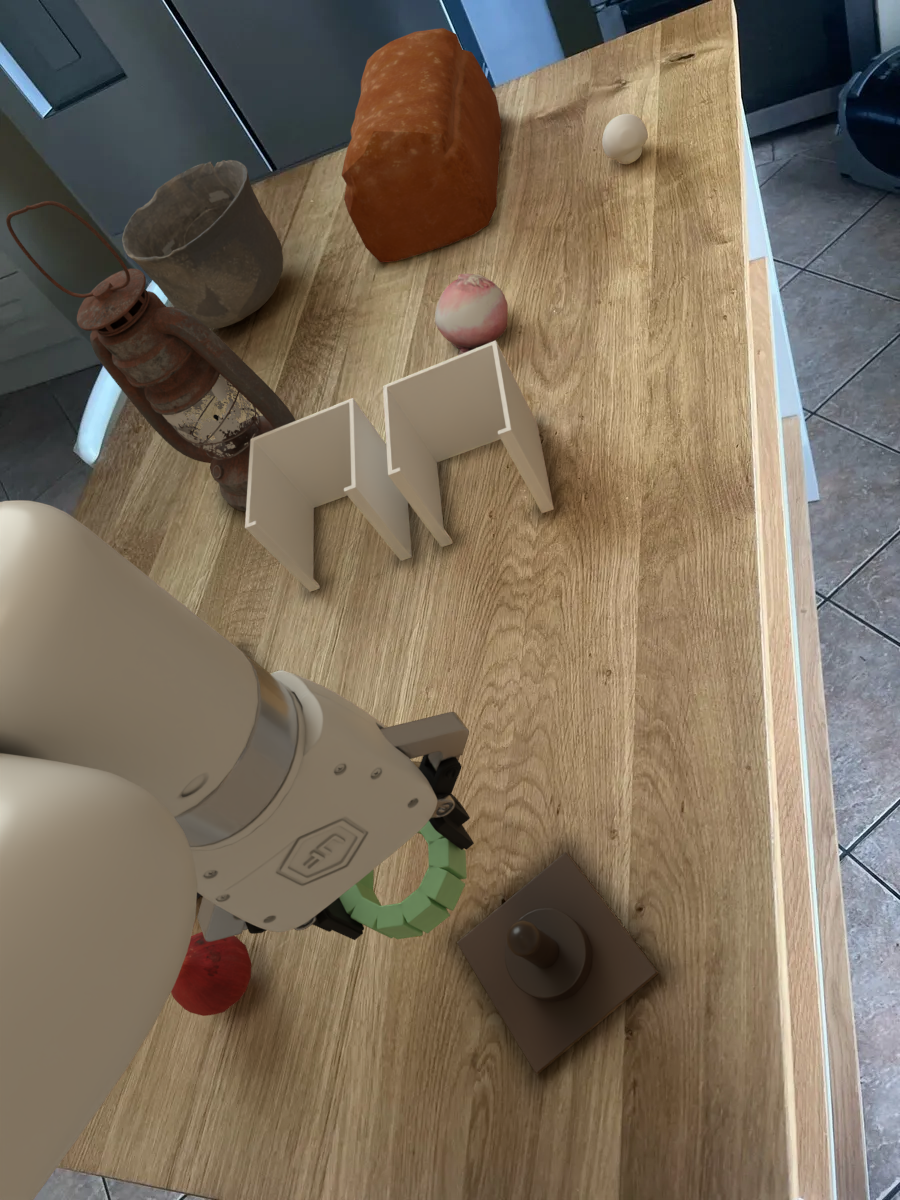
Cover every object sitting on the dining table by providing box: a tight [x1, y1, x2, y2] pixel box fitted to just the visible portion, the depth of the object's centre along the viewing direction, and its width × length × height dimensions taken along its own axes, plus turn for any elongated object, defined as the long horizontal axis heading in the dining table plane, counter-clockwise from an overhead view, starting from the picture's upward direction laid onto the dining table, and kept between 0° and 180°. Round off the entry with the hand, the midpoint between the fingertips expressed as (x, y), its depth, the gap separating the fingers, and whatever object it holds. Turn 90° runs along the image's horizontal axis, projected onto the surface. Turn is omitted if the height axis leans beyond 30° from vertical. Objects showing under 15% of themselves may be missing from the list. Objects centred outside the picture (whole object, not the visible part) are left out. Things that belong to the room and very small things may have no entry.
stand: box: [456, 851, 659, 1075], centre depth 58 cm, size 10×10×7 cm
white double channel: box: [244, 340, 555, 593], centre depth 83 cm, size 25×11×11 cm, turn 95°
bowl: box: [121, 159, 284, 329], centre depth 113 cm, size 18×18×15 cm
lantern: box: [5, 200, 296, 512], centre depth 86 cm, size 11×16×35 cm
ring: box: [339, 821, 468, 940], centre depth 49 cm, size 7×7×2 cm
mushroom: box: [601, 113, 649, 165], centre depth 100 cm, size 5×5×5 cm
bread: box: [341, 27, 503, 263], centre depth 109 cm, size 17×24×15 cm
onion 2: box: [434, 272, 509, 356], centre depth 93 cm, size 8×8×7 cm
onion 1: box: [170, 931, 252, 1017], centre depth 66 cm, size 6×6×8 cm
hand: (401, 869), depth 49 cm, fingers closed on ring, 6 cm apart
